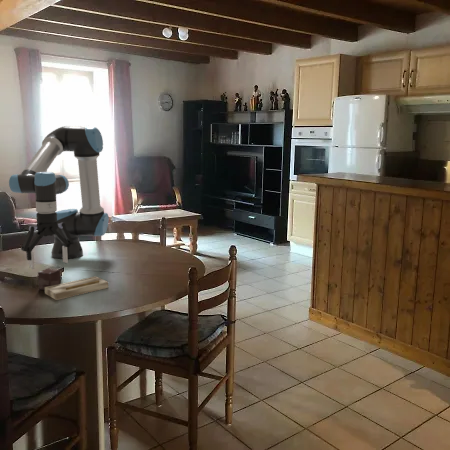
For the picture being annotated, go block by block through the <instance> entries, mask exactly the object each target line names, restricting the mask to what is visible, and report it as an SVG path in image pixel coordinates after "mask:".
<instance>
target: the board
mask: <svg viewBox="0 0 450 450" xmlns="http://www.w3.org/2000/svg"><path fill="white" fill-rule="evenodd" d="M105 289H109V282H108V281H107V280H104V279H103V278H101V277H98V276H95V275H94V276H91V277H85V278H82V279H78V280H77V279H76V280H72V281H68V282H64V283H60V284H58V285H53V286H49V287H45V290H44V294H45V295H47V296H48V297H50V298H52V299H54V300H55V301H59V300H64V299H66V298H71V297H76V296H79V294H80V295H84V293H85V294H88V292H89V293H92V292H97V291H101V290H105ZM75 295H76V296H75Z"/></svg>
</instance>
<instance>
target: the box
mask: <svg viewBox="0 0 450 450" xmlns="http://www.w3.org/2000/svg"><path fill="white" fill-rule="evenodd" d="M37 278H38V289H39V290H41V291H45V287H49V286H53V285H58V284H61V270H60V269H54V268H49V267H48V268H45V269H43V270H40V271H38V272H37Z"/></svg>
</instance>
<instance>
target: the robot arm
mask: <svg viewBox="0 0 450 450" xmlns="http://www.w3.org/2000/svg"><path fill="white" fill-rule="evenodd" d="M103 149H104V140H103V135H102V132H101V131H100V129H98V128H97V127H94V126H89V125H88V126H87V125H86V126H85V125H84V126H81V125H80V126H79V125H78V126H76V125H75V126H71V125H65V126H61V127H58V128H56V129H54V130H52V131H51V132H49V133H48V134H47V135H46V136H45V137H44V138H43V140H42V142H41V146H40V148H39V149H38V150H37V152H36V153H35V154H34V156H33V157H32V158H31V160H30V161H29V162H28V164H26V167H25V168H24V169H23V170H22V171H21V173H20V174H19V173H16V174H12V175H10V177H9V180H8V187H9V189H10V191H11V192H12V193H15V194H18V193H19V194H35V212H37V213H36V215H35V216H36V225H35V226H34V225H29V226H28V228H27V229H28V231H27V234H26V236H25V237H24V238H25V239H24V241H23V242H22V245H21V247H20V250H21V251H23V252H25V253H26V260H27V261H29V268H30V269H32V270H33V269H35V254H34V253H35V252H34V251H33V250H34V248H35V247H36V246H37V245H38V243H39V242H40V240H41V239H42V238H43V237H48V236H53V237H54V239H53V240H54V242H53V245H52V249H51V258H54V259H61V260H62V263H65V264H68V261H69V259H75V258H79V257H82V256H83V254H84V251H83V247H82V244H81V243H80V238H79V236H83V237H84V236H85V237H86V236H87V237H103V236H104V235H105V234H106V233H107V230H108V227H109V222H110V220H109V214H108V213H107V212H105V208H104V207H103V206H101V199H100V198H101V196H100V185H99V174H98V173H99V172H98V160H97V159H98V158H99V157H100V153H101V152H102V151H104V150H103ZM63 152H73V156H74V157H75V158H76V159H77V161H78V162H77V165H78V173H79V174H78V175H79V186H80V197H81V206H82V207H81V208H80V209H79V211H78V209H77V208H68V209H61V210H58V208H57V195H59V194H60V195H61V194H63V193H64V192H66V191H68V189H69V186H70V182H69V180H68V178H67V177H66V176H65V175H64V174H63V175H62V174H55V173H54V172H52V171H48V169H49V168H50V166H51V165H52V163H53V162H54V160H55V159H56V158H57V157H59V156H60V155H61V154H62V153H63ZM57 210H58V211H57ZM35 232H36V234H35V236H34V233H35ZM33 236H34V237H33Z"/></svg>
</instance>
